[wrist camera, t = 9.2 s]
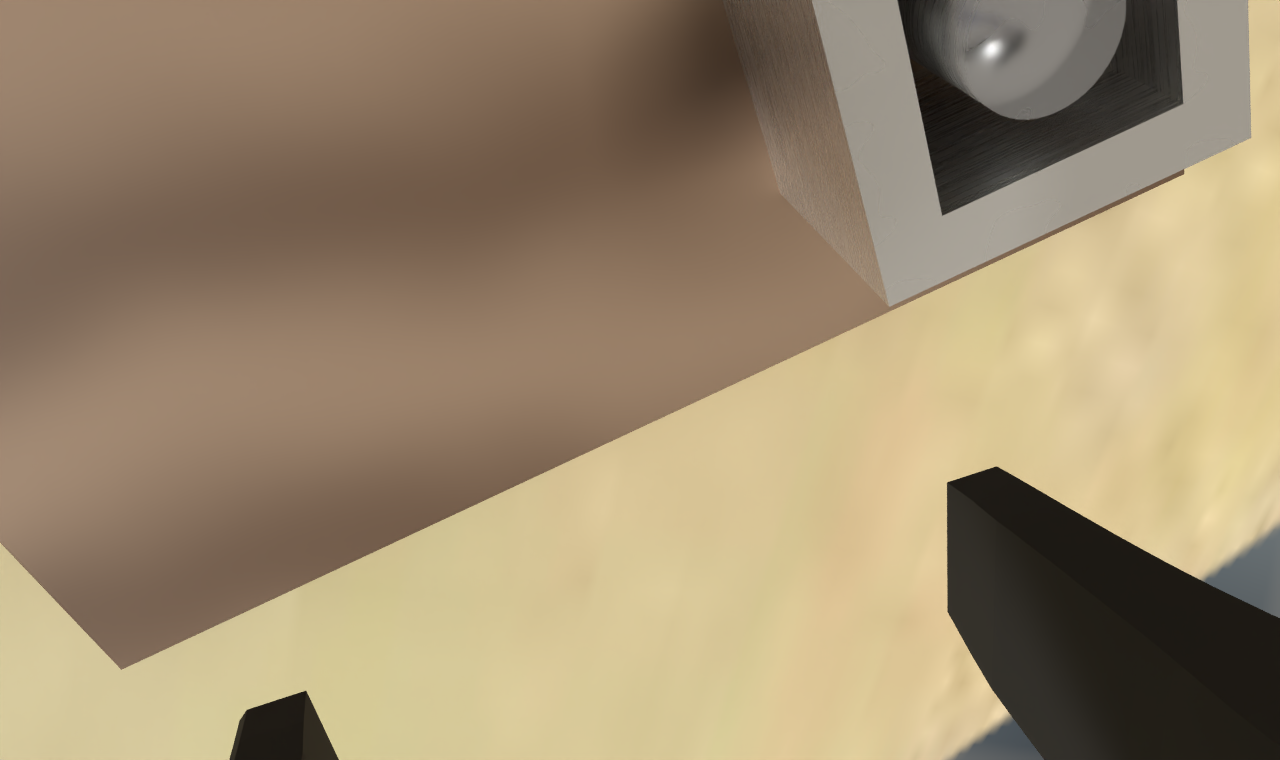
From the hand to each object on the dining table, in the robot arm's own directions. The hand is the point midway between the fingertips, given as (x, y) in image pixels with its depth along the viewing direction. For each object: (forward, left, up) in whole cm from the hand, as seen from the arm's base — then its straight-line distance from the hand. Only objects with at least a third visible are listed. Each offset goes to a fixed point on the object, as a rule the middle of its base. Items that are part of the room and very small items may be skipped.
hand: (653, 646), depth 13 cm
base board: (-3, +2, -9) cm, 10 cm away
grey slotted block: (-3, +8, -8) cm, 11 cm away
